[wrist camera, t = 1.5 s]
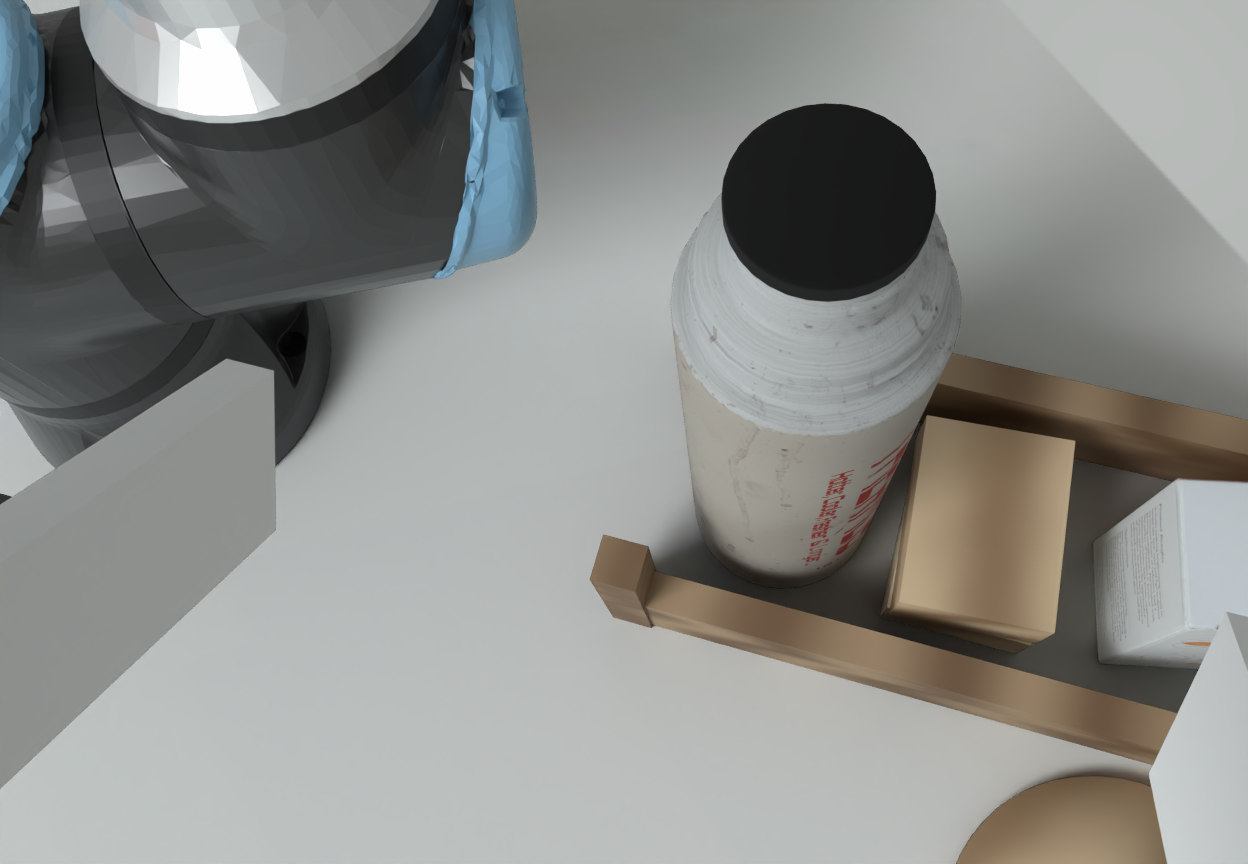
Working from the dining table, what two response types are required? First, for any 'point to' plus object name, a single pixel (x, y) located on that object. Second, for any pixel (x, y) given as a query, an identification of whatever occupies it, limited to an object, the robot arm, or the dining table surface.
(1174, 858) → the robot arm
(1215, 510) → the small box
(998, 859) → the coaster
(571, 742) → the dining table surface
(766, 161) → the thermos bottle
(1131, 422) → the rack
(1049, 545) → the upper offcut
